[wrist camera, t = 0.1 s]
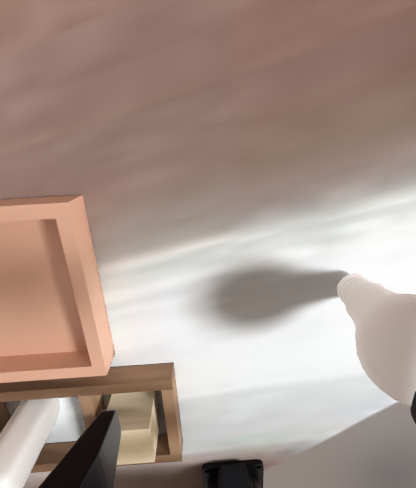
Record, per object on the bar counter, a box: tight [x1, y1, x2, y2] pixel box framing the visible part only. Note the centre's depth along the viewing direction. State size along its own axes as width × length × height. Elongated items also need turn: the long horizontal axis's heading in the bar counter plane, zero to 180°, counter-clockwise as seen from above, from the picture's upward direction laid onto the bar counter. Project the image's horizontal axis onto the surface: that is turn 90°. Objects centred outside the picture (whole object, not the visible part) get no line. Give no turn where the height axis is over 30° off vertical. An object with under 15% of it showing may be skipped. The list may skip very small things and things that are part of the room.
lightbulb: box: [337, 274, 416, 406], centre depth 19 cm, size 6×6×11 cm
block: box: [107, 391, 160, 465], centre depth 26 cm, size 4×4×4 cm
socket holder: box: [0, 363, 183, 473], centre depth 27 cm, size 10×24×2 cm, turn 93°
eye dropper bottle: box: [0, 398, 60, 488], centre depth 22 cm, size 4×6×12 cm
